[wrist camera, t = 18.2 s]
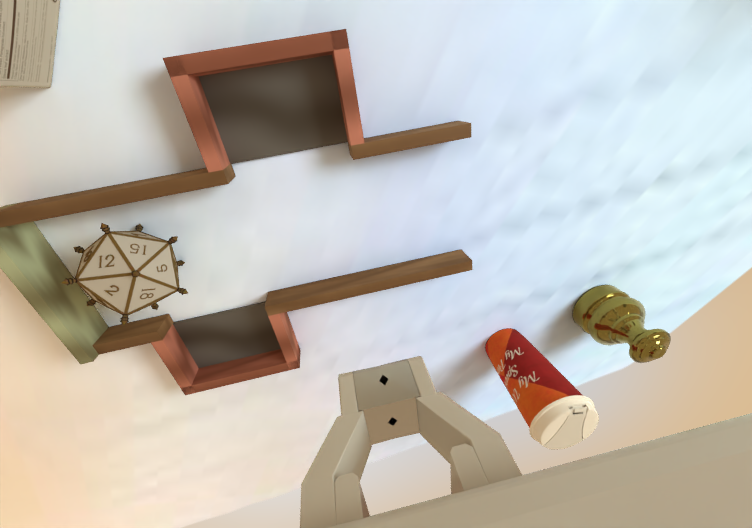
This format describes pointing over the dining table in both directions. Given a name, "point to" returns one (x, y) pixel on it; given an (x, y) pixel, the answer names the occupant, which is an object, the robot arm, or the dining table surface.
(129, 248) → the game die
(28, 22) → the supplement box
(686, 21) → the dining table surface
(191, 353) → the trap channel
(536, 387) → the paper cup
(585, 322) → the gold metal turned piece
